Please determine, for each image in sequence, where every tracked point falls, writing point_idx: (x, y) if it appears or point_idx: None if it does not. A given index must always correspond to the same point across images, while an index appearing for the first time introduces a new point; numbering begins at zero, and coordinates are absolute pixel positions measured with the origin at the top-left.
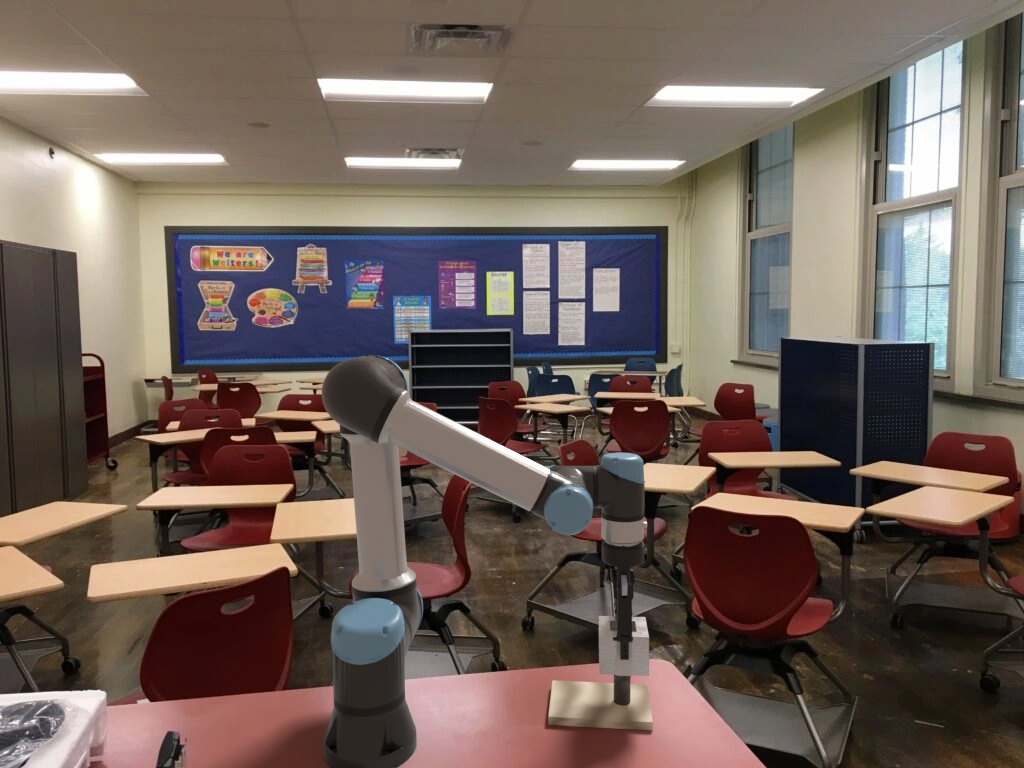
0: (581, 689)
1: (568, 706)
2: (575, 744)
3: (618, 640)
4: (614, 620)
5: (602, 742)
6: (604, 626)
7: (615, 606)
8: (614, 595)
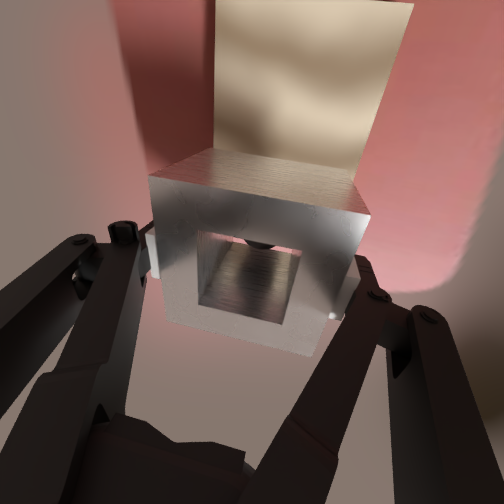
0: (338, 102)
1: (262, 56)
2: (166, 69)
3: (71, 238)
4: (298, 268)
5: (180, 128)
6: (240, 216)
7: (352, 314)
8: (31, 394)
